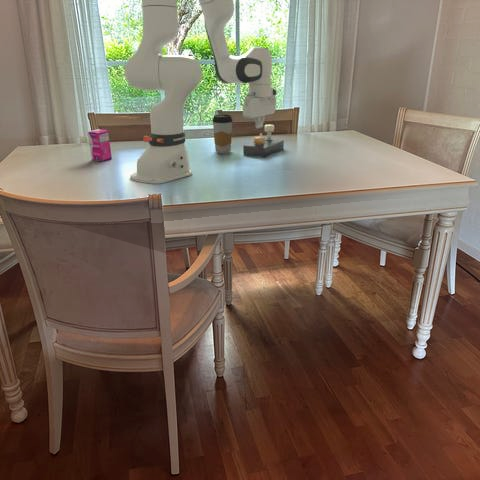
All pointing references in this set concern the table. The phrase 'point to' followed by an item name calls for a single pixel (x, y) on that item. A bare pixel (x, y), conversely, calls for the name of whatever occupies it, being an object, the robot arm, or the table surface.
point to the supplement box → (99, 145)
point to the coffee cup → (222, 133)
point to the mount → (263, 148)
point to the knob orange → (259, 140)
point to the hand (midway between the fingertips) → (259, 127)
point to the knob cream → (269, 131)
